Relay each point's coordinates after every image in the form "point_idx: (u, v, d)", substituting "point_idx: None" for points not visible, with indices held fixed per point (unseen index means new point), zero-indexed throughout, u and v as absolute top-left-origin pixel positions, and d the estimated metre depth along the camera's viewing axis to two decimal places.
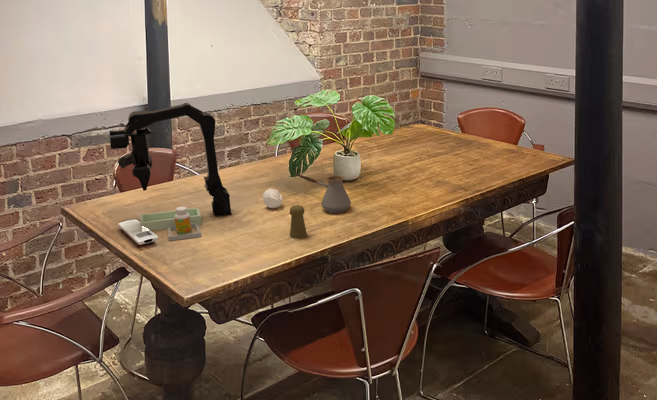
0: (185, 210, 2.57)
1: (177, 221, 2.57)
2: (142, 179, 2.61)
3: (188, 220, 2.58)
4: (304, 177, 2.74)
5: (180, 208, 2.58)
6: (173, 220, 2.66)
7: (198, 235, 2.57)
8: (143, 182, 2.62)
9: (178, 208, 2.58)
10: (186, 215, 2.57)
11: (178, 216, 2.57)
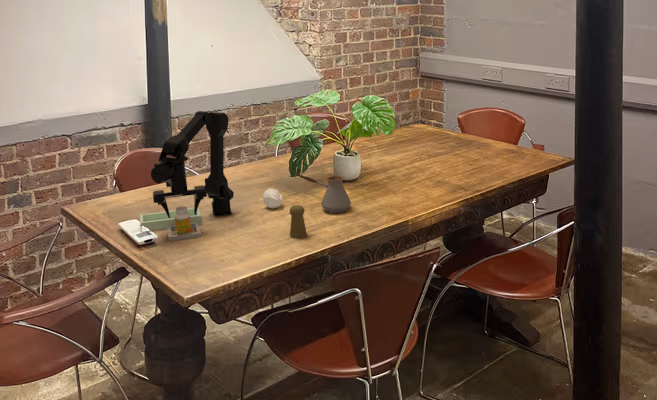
0: (185, 210, 2.57)
1: (177, 221, 2.57)
2: None
3: (188, 220, 2.58)
4: (304, 177, 2.74)
5: (180, 208, 2.58)
6: (173, 220, 2.66)
7: (198, 235, 2.57)
8: None
9: (178, 208, 2.58)
10: (186, 215, 2.57)
11: (178, 216, 2.57)
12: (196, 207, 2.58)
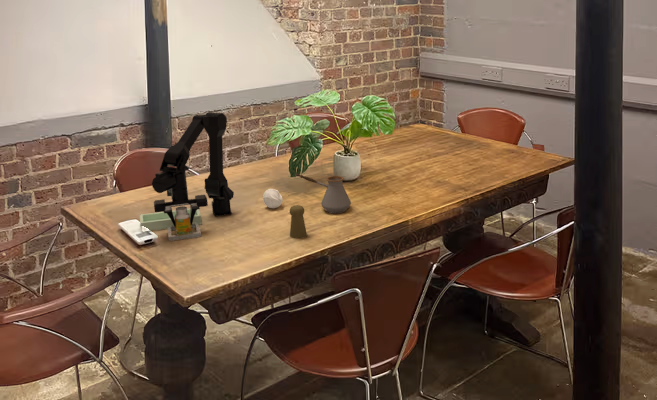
0: (185, 209, 2.57)
1: (177, 221, 2.57)
2: None
3: (188, 220, 2.58)
4: (304, 177, 2.74)
5: (180, 208, 2.58)
6: None
7: (198, 235, 2.57)
8: None
9: (178, 208, 2.58)
10: (186, 215, 2.57)
11: (178, 216, 2.57)
12: (192, 217, 2.58)
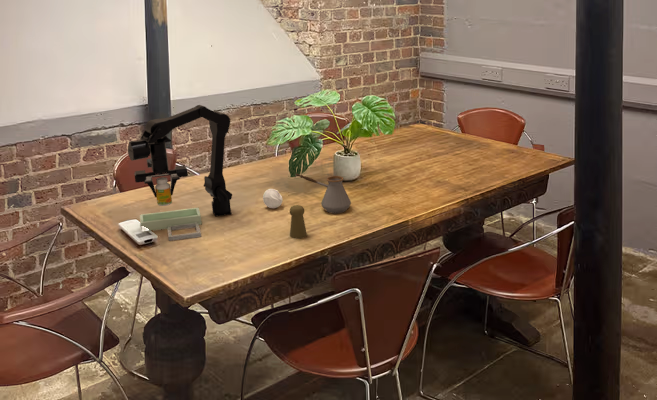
0: (166, 180, 2.61)
1: (158, 191, 2.61)
2: None
3: (169, 190, 2.62)
4: (304, 177, 2.74)
5: (160, 179, 2.62)
6: (173, 220, 2.66)
7: (198, 235, 2.57)
8: None
9: (158, 179, 2.62)
10: (167, 185, 2.61)
11: (159, 186, 2.60)
12: (172, 187, 2.62)
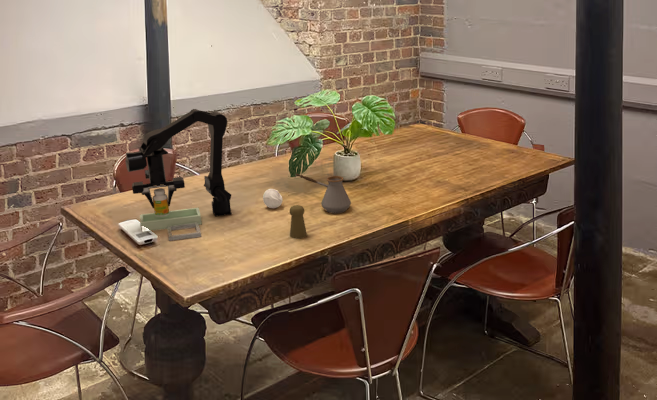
0: (163, 191, 2.65)
1: (155, 202, 2.65)
2: None
3: (166, 201, 2.66)
4: (304, 177, 2.74)
5: (158, 190, 2.65)
6: (173, 220, 2.66)
7: (198, 235, 2.57)
8: None
9: (156, 190, 2.65)
10: (164, 197, 2.65)
11: (156, 197, 2.64)
12: (170, 198, 2.66)
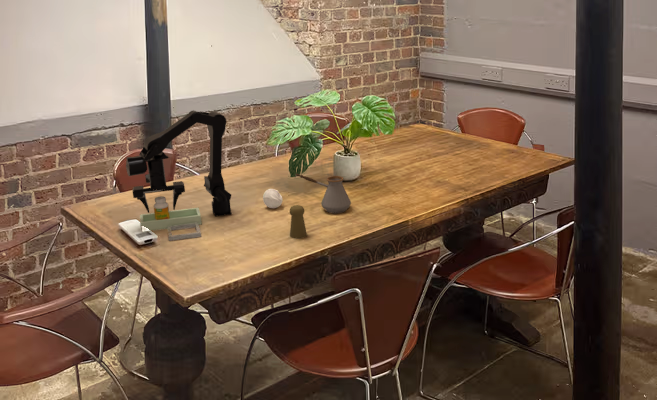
0: (164, 199, 2.66)
1: (156, 210, 2.66)
2: None
3: (167, 209, 2.67)
4: (304, 177, 2.74)
5: (159, 198, 2.66)
6: (173, 220, 2.66)
7: (198, 235, 2.57)
8: None
9: (157, 198, 2.66)
10: (165, 205, 2.66)
11: (157, 205, 2.65)
12: (175, 202, 2.67)
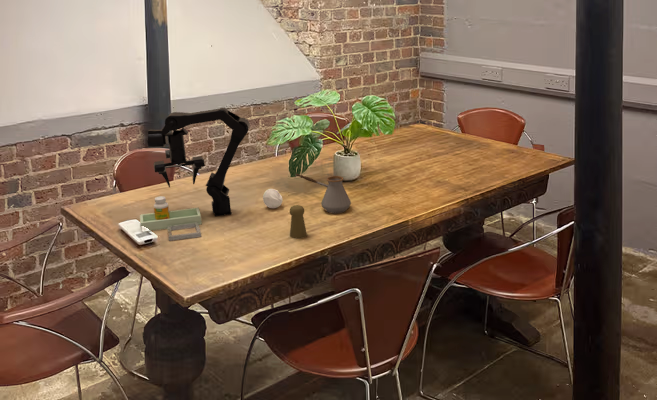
0: (164, 199, 2.66)
1: (156, 210, 2.66)
2: None
3: (167, 209, 2.67)
4: (304, 177, 2.74)
5: (159, 198, 2.66)
6: (173, 220, 2.66)
7: (198, 235, 2.57)
8: None
9: (157, 198, 2.67)
10: (165, 204, 2.66)
11: (157, 205, 2.65)
12: (194, 176, 2.75)
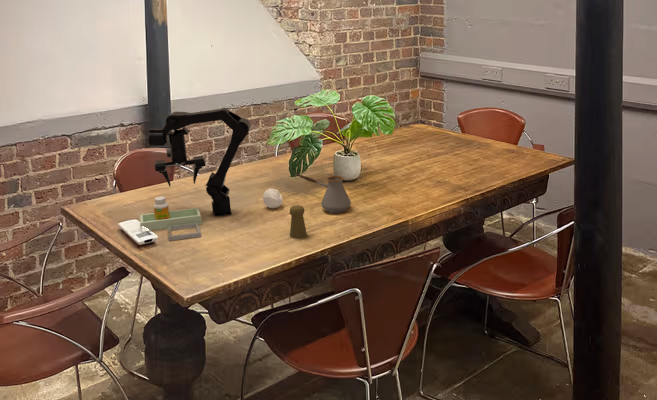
0: (164, 199, 2.66)
1: (156, 210, 2.66)
2: None
3: (167, 209, 2.67)
4: (304, 177, 2.74)
5: (159, 198, 2.66)
6: (173, 220, 2.66)
7: (198, 235, 2.57)
8: None
9: (157, 198, 2.66)
10: (165, 204, 2.66)
11: (157, 205, 2.65)
12: (195, 176, 2.75)
